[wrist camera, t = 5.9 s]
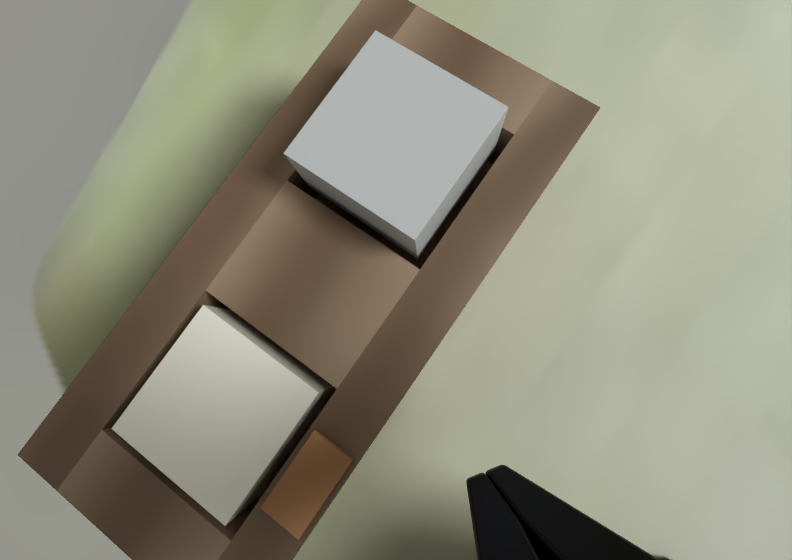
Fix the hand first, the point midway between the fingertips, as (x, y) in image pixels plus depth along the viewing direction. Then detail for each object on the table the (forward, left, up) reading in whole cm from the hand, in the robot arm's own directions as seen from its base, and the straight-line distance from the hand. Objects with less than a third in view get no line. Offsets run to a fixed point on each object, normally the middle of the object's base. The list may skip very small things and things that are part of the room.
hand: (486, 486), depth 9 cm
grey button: (+10, 0, -6) cm, 12 cm away
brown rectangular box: (+6, +4, -13) cm, 15 cm away
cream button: (+3, +8, -8) cm, 12 cm away
